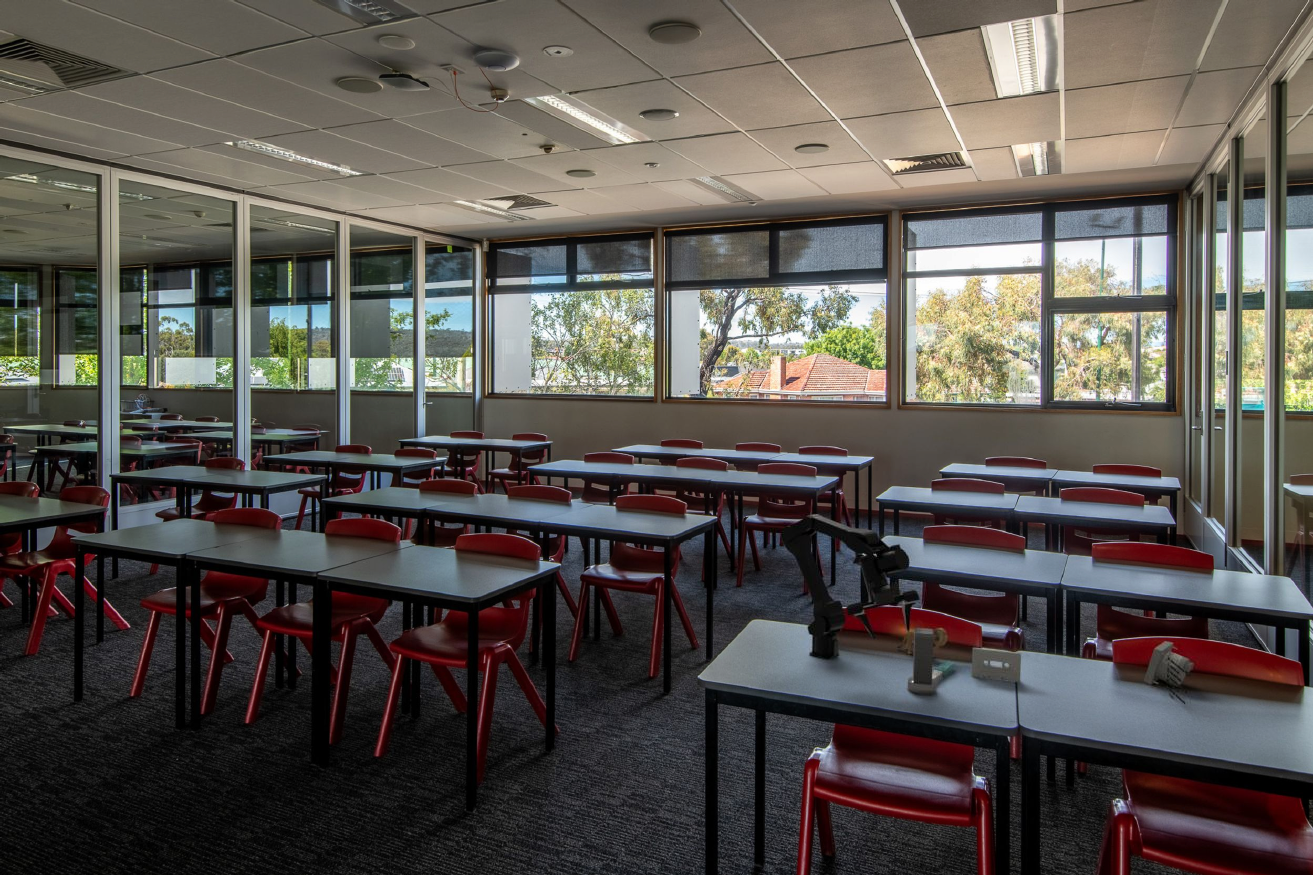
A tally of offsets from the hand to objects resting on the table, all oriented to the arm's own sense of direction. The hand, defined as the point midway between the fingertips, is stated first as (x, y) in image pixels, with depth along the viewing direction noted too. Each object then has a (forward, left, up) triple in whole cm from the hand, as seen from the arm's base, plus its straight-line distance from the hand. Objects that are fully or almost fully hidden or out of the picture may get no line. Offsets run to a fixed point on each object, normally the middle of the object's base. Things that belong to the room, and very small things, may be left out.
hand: (891, 635), depth 220 cm
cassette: (+22, +17, -12) cm, 30 cm away
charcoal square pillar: (+10, -4, -9) cm, 14 cm away
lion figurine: (0, +23, -12) cm, 26 cm away
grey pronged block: (+60, +36, -12) cm, 71 cm away
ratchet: (+10, +5, -11) cm, 16 cm away
